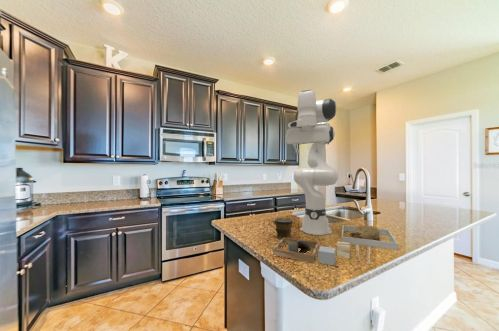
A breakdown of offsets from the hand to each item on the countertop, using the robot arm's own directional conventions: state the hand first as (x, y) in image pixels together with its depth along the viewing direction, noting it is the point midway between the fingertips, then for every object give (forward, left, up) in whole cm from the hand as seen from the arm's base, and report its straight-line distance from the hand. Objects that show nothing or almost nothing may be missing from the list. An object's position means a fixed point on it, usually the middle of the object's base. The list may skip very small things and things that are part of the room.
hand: (307, 152), depth 101 cm
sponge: (-29, +26, -46) cm, 60 cm away
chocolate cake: (+5, -4, -46) cm, 47 cm away
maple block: (0, +15, -46) cm, 48 cm away
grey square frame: (-29, +26, -46) cm, 60 cm away
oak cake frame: (+5, -4, -46) cm, 46 cm away
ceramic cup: (-12, -17, -46) cm, 50 cm away
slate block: (+10, +9, -46) cm, 48 cm away
